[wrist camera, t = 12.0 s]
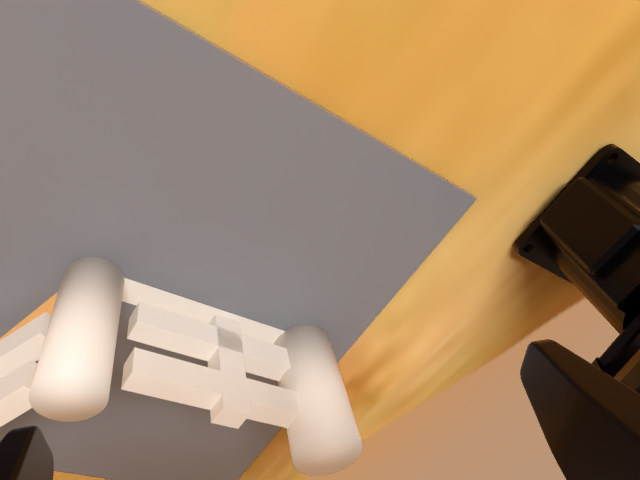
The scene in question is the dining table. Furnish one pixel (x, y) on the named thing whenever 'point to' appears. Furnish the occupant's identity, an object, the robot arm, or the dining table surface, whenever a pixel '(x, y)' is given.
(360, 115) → the dining table surface
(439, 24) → the dining table surface
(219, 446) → the card
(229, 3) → the dining table surface
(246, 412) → the fence fixed
